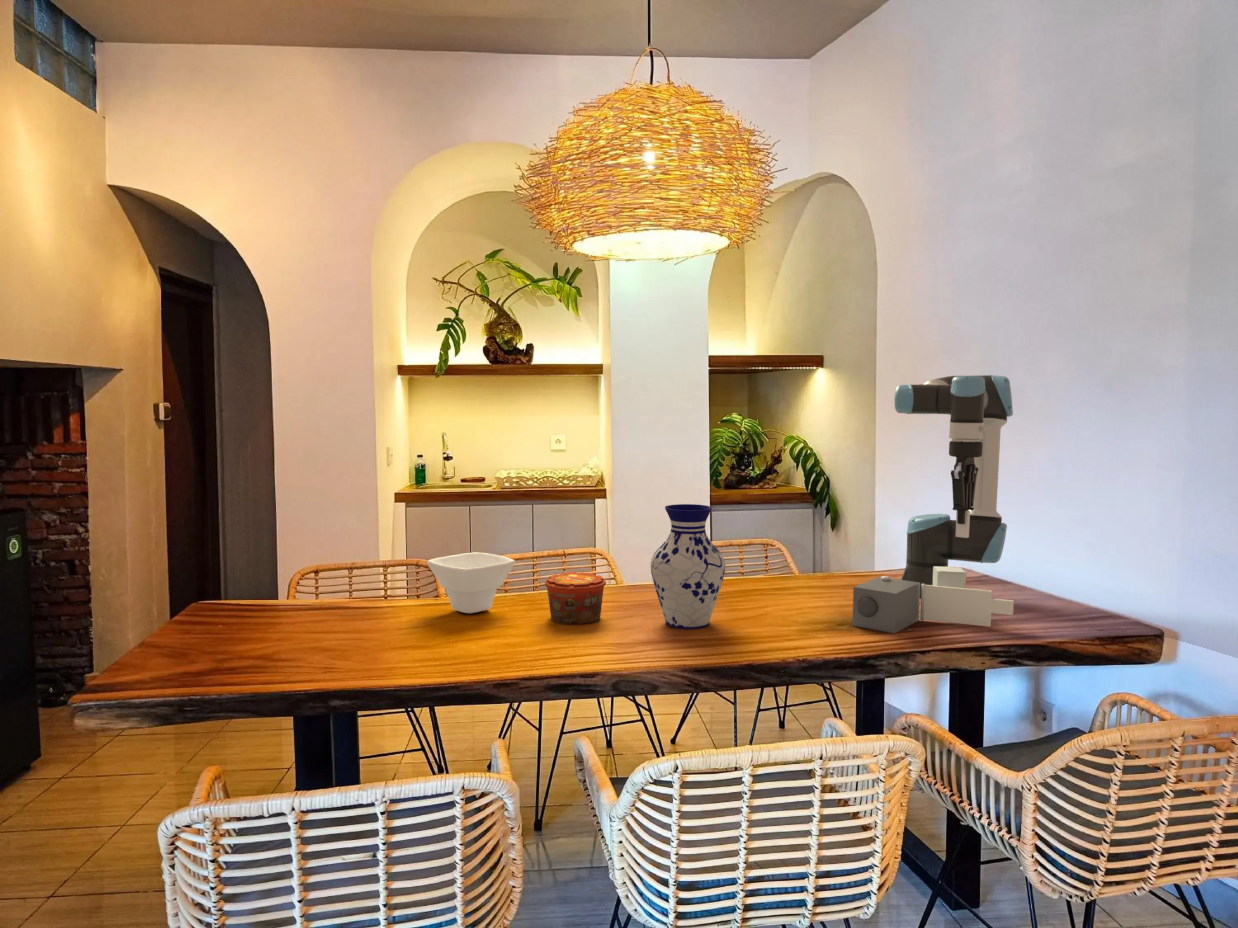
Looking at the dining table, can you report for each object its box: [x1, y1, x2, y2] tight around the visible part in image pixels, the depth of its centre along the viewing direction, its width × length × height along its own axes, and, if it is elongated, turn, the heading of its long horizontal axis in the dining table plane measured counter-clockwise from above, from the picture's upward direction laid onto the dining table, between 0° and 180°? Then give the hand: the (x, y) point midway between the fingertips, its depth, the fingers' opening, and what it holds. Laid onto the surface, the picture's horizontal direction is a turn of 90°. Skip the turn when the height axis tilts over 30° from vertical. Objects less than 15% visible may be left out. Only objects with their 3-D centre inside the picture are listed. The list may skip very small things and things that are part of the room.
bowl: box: [426, 551, 516, 614], centre depth 230 cm, size 19×19×14 cm
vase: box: [650, 503, 726, 630], centre depth 218 cm, size 19×19×30 cm
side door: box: [919, 584, 1015, 628], centre depth 219 cm, size 22×1×10 cm, turn 67°
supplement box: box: [933, 566, 967, 588], centre depth 228 cm, size 7×7×13 cm
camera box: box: [852, 575, 921, 634], centre depth 220 cm, size 17×11×11 cm, turn 140°
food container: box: [544, 571, 607, 626], centre depth 224 cm, size 16×16×11 cm
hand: (962, 536), depth 209 cm, fingers closed
